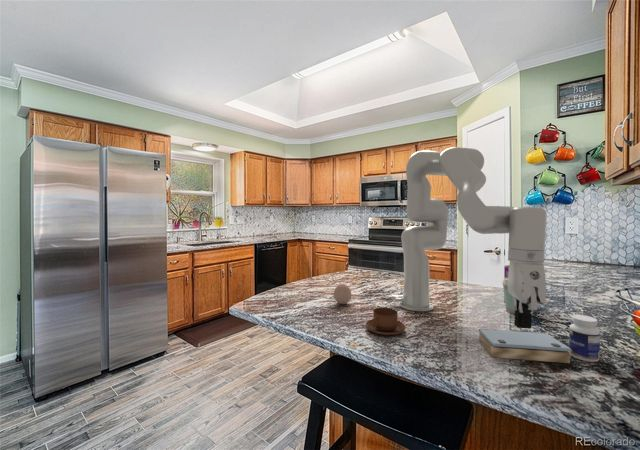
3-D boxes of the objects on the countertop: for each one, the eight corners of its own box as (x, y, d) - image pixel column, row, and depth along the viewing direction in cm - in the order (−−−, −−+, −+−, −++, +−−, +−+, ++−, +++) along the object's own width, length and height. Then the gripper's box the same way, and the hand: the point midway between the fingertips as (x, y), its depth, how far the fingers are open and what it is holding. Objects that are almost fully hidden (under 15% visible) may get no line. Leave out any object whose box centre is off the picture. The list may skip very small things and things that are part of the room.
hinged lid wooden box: (492, 357, 75) (492, 347, 74) (479, 340, 84) (479, 332, 84) (569, 363, 71) (569, 352, 71) (546, 345, 81) (546, 336, 81)
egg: (345, 307, 116) (345, 286, 116) (330, 304, 120) (330, 284, 120) (354, 303, 122) (354, 283, 121) (340, 300, 126) (340, 281, 126)
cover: (493, 346, 74) (492, 342, 74) (478, 331, 85) (478, 327, 85) (570, 351, 71) (570, 347, 71) (545, 335, 82) (545, 331, 82)
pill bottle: (563, 352, 77) (563, 314, 77) (583, 351, 77) (584, 313, 77) (584, 363, 71) (585, 322, 71) (606, 362, 72) (607, 321, 71)
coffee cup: (534, 316, 105) (534, 282, 104) (507, 314, 106) (507, 281, 106) (522, 308, 113) (523, 277, 113) (498, 307, 115) (498, 276, 114)
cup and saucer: (398, 342, 84) (398, 320, 84) (359, 333, 91) (359, 313, 91) (410, 328, 94) (410, 309, 94) (374, 321, 101) (374, 303, 101)
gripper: (560, 261, 67) (556, 341, 68) (527, 252, 81) (524, 317, 82) (523, 260, 68) (519, 338, 69) (497, 251, 83) (495, 315, 84)
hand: (522, 326), depth 76 cm, fingers closed
